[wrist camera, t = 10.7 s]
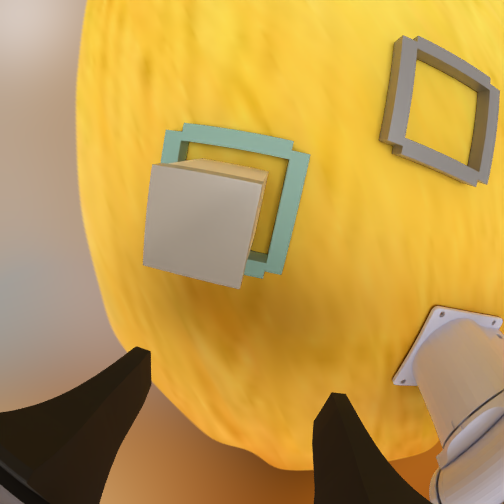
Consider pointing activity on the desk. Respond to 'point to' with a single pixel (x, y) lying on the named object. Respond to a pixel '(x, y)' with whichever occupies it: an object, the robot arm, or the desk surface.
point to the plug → (203, 219)
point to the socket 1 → (253, 142)
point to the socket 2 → (401, 102)
